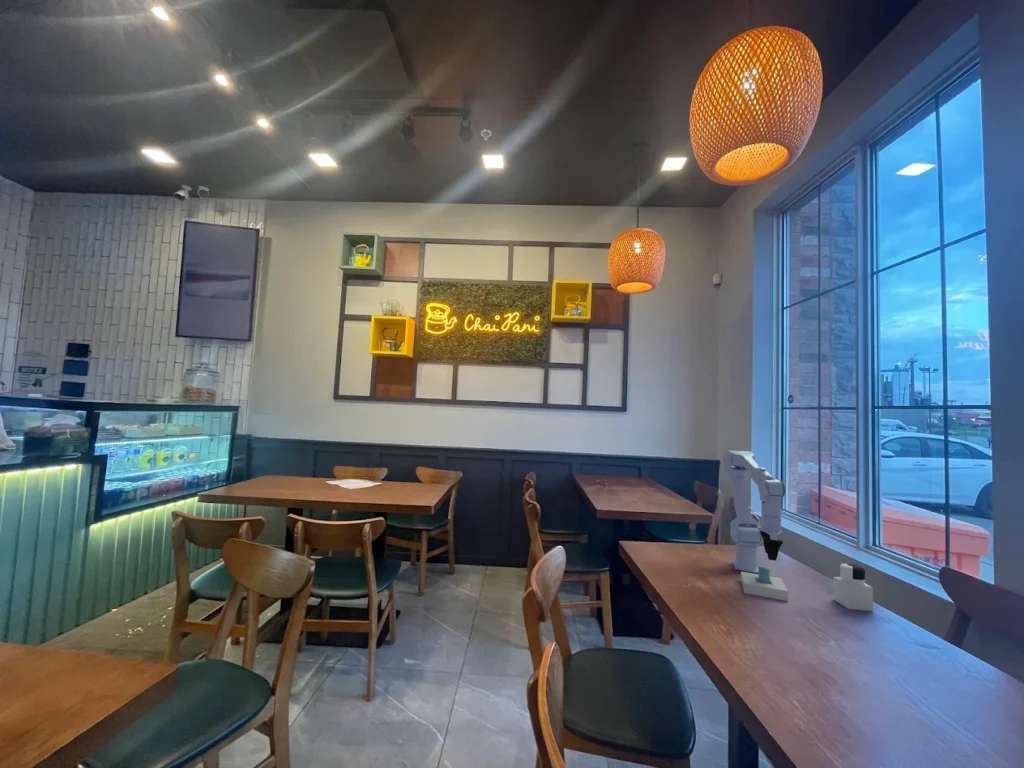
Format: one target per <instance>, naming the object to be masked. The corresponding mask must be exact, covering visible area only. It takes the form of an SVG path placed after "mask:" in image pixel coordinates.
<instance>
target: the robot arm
mask: <svg viewBox="0 0 1024 768" xmlns="http://www.w3.org/2000/svg"><path fill="white" fill-rule="evenodd" d="M755 457H756V456H755V454H754V453H753V452H752V450H750V451H749V450H748V451H746V450H731V449H727V450H725V451H724V453H723V457H722V458H723V459H722V460H723V462H722V463H723V466H724V471H725V473H726V474H728V475H729V476H728V477H729V481H730V486H731V487H730V488H731V492H732V498H733V504H734V508H735V515H736V517H735V518H733V520H731V522H730V524H729V525H730V530H729V531H730V532H729V534H730V538H731V540H732V542H733V543H735V558H734V559H735V560H732V563H733V568H734V570H736V571H737V570H738V571H741V572H747V573H753V574H758V567H759V566H758V547H760V545H761V544H762V543H763V547H764V552H765V554H767V559H768V560H769V561H774V562H775V561H777V560H778V556H779V552H780V551H779V550H780V548H781V547H782V546H783V544H784V540H783V539H779V536H780V534H782V533H783V532H782V498H783V497H785V495H786V485H785V483H784V482H783V480H782V479H775V478H774V476H772V475H771V473H769V471H768V470H767V469H766V468H765V467H760V466H759V465H758V463H757V462H756V461H755V460H756V459H755ZM749 473H750V479H752V481H753V482H754V483H755V484H756V485H757V487H758V488H757V489H758V493H759V499H760V501H761V524H760V522H758V521H757V520H756V519H755V518H753V517H752V513H751V509H750V508H751V507H750V503H749V498H748V493H747V492H748V491H747V488H746V483H745V478H744V477H745V476H746V475H748V474H749Z"/></svg>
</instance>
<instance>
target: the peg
mask: <svg viewBox="0 0 1024 768" xmlns="http://www.w3.org/2000/svg"><path fill="white" fill-rule="evenodd" d="M757 567H758V573H757V574H758V582H760V583H766V584H770V577H771V575H770V574H771V571H770V570H771V569H770V568H768V567H766V566H757Z"/></svg>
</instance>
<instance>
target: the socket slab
mask: <svg viewBox="0 0 1024 768" xmlns="http://www.w3.org/2000/svg"><path fill="white" fill-rule="evenodd" d="M740 582H741V586H742V589H743V593H744V594H748V595H752V596H758V597H764V598H769V599H773V600H779V601H786V602H789V589H788V588H787V586H786V585H785V582H784V581H783V579H782V578H781V577H776V576H775V577H774V576H770V584H766V583H760V582H758V573H754V572H748V571H741V572H740Z"/></svg>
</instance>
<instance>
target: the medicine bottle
mask: <svg viewBox="0 0 1024 768" xmlns="http://www.w3.org/2000/svg"><path fill="white" fill-rule="evenodd" d="M839 570H840V572H839V576H833V577H832V580H833V581H832V583H833V584H832V585H833V587H832V589H833V591H832V593H833V595H832V596H833V597H832V598H833V601H835V602H837V603H838V604H839V605H841V606H843V607H844V608H845V609H847V610H854V611H865V612H874V587H873V586H872V585H869V584H867V583H866V569H864V568H863V567H862V566H860V565H858V564H854V563H848V562H847V563H841V564H840V565H839Z"/></svg>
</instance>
